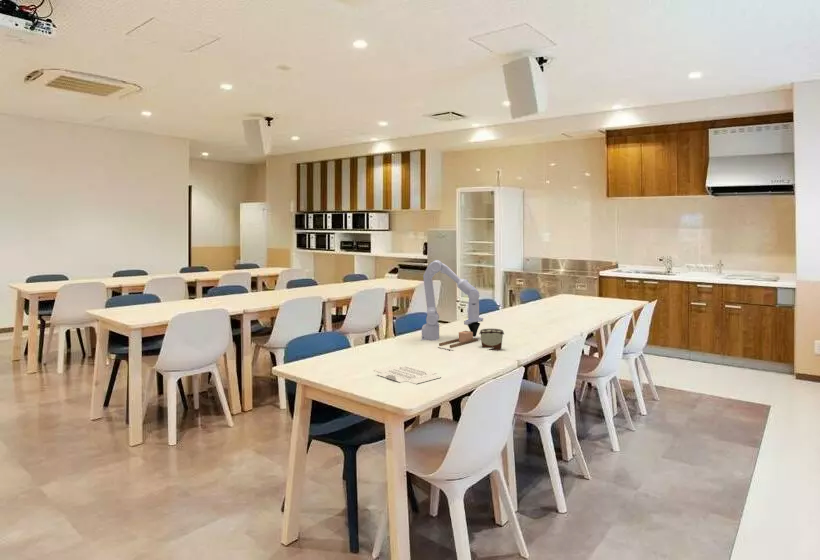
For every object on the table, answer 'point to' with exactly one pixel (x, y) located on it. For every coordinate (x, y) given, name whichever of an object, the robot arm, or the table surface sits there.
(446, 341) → the chute
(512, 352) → the table surface
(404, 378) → the white printed sheet
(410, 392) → the table surface
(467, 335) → the block
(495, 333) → the food container
